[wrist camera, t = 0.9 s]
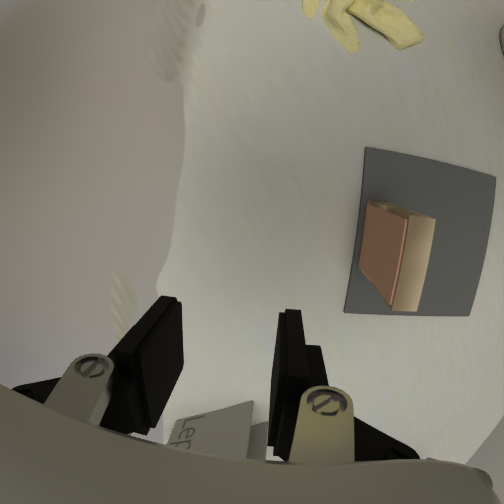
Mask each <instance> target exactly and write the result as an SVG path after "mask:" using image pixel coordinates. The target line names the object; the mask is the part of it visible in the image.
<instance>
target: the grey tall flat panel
mask: <svg viewBox="0 0 504 504" xmlns="http://www.w3.org/2000/svg"><path fill="white" fill-rule="evenodd" d="M253 402H254V401H248V402H245V403H242V404H238V405H235V406H231V407H228V408H224V409H220V410H217V411H213V412H209V413H205V414H201V415H197V416H192V417H188V418H184V419H179V420H177V421H176V423H175V426H174V428H173V431H172V433H171V436H170V438H169V441H168V443H167V445H169V446H173V447H178V448H183V449H188V450H193V451H198V452H204V453H210V454H217V455H224V456H231V457H239V458H248V459H258V460H266V449H267V434H268V422H264V423H260V424H257V425H253V426H251V419H252V411H253Z"/></svg>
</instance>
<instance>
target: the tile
mask: <svg viewBox="0 0 504 504" xmlns="http://www.w3.org/2000/svg"><path fill="white" fill-rule="evenodd" d="M435 221H436V219H434V218H432V217H429V216H426V215H423V214H420V213H417V212H414V211H411V210H409V209H406V208H403V207H399V206H396V205H393V204H390V203H387V202H379V201H372V200H368V203H367V208H366V217H365V224H364V232H363V239H362V246H361V253H360V259H359V269H360V270H361V271H362V273H363V274H364V275H365V276H366V278H367V279H368V280H369V282H370V283H371V284H372V285H373V287H374V288H375V289H376V291H377V292H378V293H379V295H380V296H381V297H382V299H383V300H384V301H385V303H386V304H387V305H388V307H389V308H390V309H391V311H416V312H417V308H418V304H419V301H420V297H421V293H422V288H423V284H424V280H425V275H426V271H427V266H428V261H429V256H430V251H431V246H432V240H433V234H434V228H435Z"/></svg>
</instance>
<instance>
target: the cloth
mask: <svg viewBox="0 0 504 504" xmlns="http://www.w3.org/2000/svg"><path fill="white" fill-rule="evenodd" d="M410 1H415V0H410ZM318 5H319V1H318V0H302V12H303V13H304V14H305V15H306V17H307V18H308V19H309V20H311V19H312V17H313V15H314V13H315V12H316V9H317V6H318ZM346 12H347V13H350V14H352V15H354V16H356V17H358V18H359V19H361V20H362V21H364V22H365V23H367V24H368V25H370V26H371V27H372V28H374V29H376V30H377V31H379V32H381V33H383V34H384V35H385V36H386V37H387V39H388V40H389V42H390V44H391V45H392V46H393V47H394V48H395V49H398V50H401V49H403V48H406V47H409V46H413V45H415V44H418V43H420V42H422V41H423V35H422V33H421V32H420V31H419V29H418V28H417V27H416V26H415V25H414V23H413V22H412V21H411V20H410V19H409V18H408V17H407V15H406V14H405V13H404V12H403V11H402V10H400V9H399V8H397V7H394V6H392V5H390V4H388V3H386V2H385V1H383V0H327V2H326V3H325V5H324V8H323V13H322V18H323V19H324V21H325V23H326V24H327V26H328V27H329V28H330V30H331V33H332V36H333V37H335V38H336V39H337V40H338V41H339V42H340V43H341V44H342V45H343V46H344V47H345V48H346V49H347V50H348V51H349V52H350V53H352V52H358V51H359V50H360V43H359V40H358V36H357V30H356V28H355V25H354V23H353V21H352V19H351V18H350V16H349V15H348V14H347V13H346Z"/></svg>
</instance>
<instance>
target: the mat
mask: <svg viewBox="0 0 504 504" xmlns="http://www.w3.org/2000/svg"><path fill="white" fill-rule="evenodd" d="M495 187H496V177H494V176H491V175H488V174H484V173H481V172H477V171H474V170H470V169H467V168H463V167H459V166H455V165H451V164H447V163H443V162H439V161H435V160H430V159H426V158H422V157H417V156H412V155H407V154H402V153H397V152H392V151H386V150H381V149H375V148H369V147H365V155H364V168H363V180H362V190H361V200H360V209H359V217H358V225H357V233H356V240H355V247H354V254H353V260H352V266H351V273H350V279H349V284H348V290H347V295H346V301H345V306H344V313H356V314H378V315H406V316H469V315H470V312H471V308H472V305H473V302H474V298H475V295H476V291H477V287H478V284H479V280H480V276H481V272H482V267H483V263H484V258H485V254H486V249H487V244H488V238H489V233H490V227H491V220H492V213H493V206H494V197H495ZM368 200H372V201H379V202H387V203H390V204H393V205H396V206H399V207H403V208H406V209H409V210H411V211H414V212H417V213H420V214H423V215H426V216H429V217H432V218H434V219H436V221H435V228H434V234H433V240H432V246H431V251H430V256H429V261H428V266H427V271H426V275H425V280H424V284H423V288H422V293H421V297H420V301H419V304H418V308H417V312H416V311H391V309H390V308H389V307H388V305H387V304H386V303H385V301H384V300H383V299H382V297H381V296H380V295H379V293H378V292H377V291H376V289H375V288H374V287H373V285H372V284H371V283H370V282H369V280H368V279H367V278H366V276H365V275H364V274H363V273H362V271H361V270H360V269H359V259H360V253H361V246H362V239H363V232H364V224H365V217H366V208H367V203H368Z"/></svg>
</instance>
